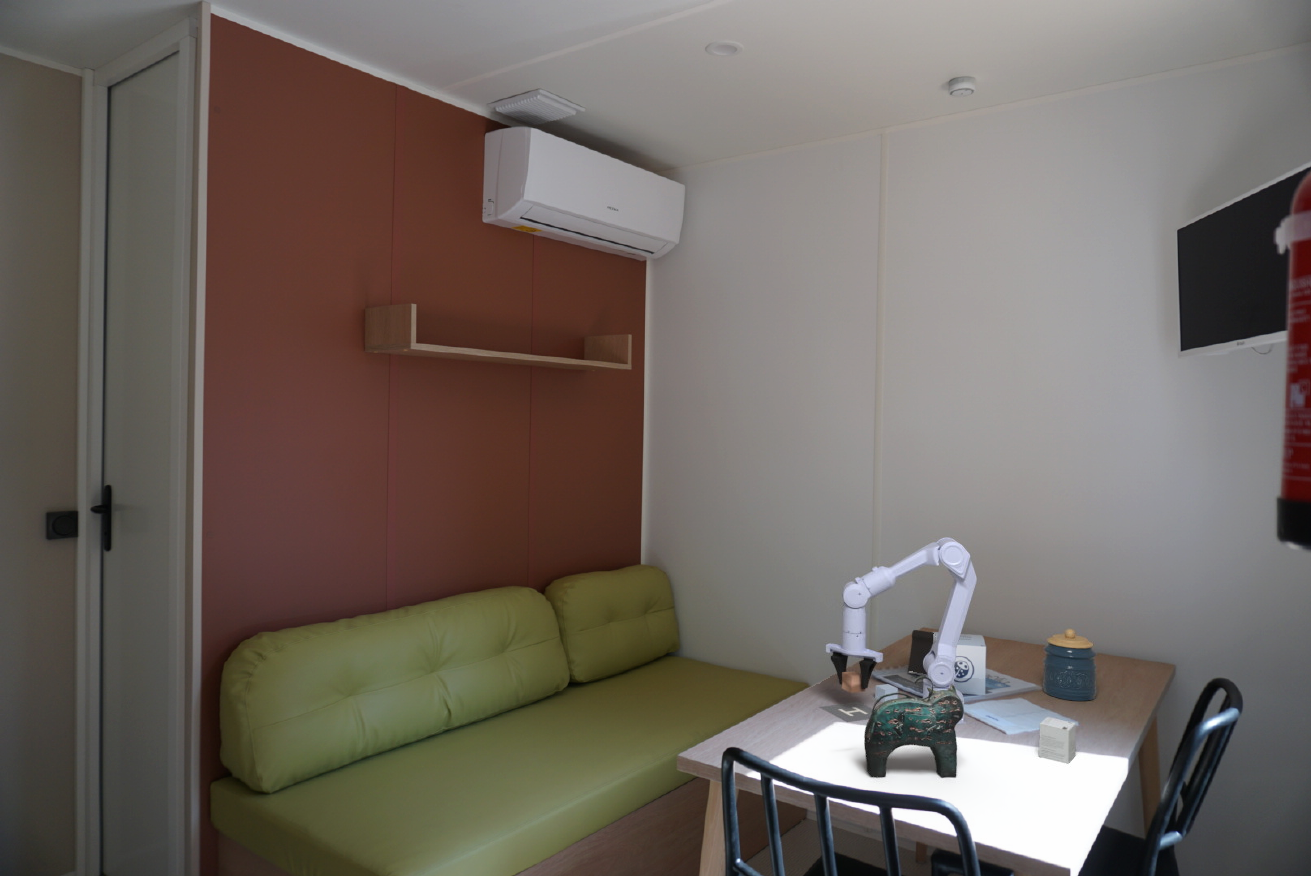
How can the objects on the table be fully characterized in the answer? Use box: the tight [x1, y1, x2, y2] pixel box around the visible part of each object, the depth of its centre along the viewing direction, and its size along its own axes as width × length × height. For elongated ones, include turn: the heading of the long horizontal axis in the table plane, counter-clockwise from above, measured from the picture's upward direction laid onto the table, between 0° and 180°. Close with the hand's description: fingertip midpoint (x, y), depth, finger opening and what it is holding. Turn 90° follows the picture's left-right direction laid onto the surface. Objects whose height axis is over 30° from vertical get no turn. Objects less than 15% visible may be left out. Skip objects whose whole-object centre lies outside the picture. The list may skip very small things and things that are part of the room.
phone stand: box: [907, 629, 935, 674], centre depth 247 cm, size 9×6×12 cm, turn 143°
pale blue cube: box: [874, 683, 899, 703], centre depth 218 cm, size 4×4×4 cm
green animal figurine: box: [863, 676, 965, 779], centre depth 171 cm, size 20×6×20 cm, turn 92°
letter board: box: [819, 701, 873, 723], centre depth 208 cm, size 12×12×1 cm
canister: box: [1042, 628, 1098, 702], centre depth 227 cm, size 13×13×18 cm
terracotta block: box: [841, 670, 866, 694], centre depth 208 cm, size 4×4×4 cm
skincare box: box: [1038, 716, 1077, 765], centre depth 182 cm, size 6×6×7 cm
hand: (853, 685), depth 208 cm, fingers closed on terracotta block, 5 cm apart
